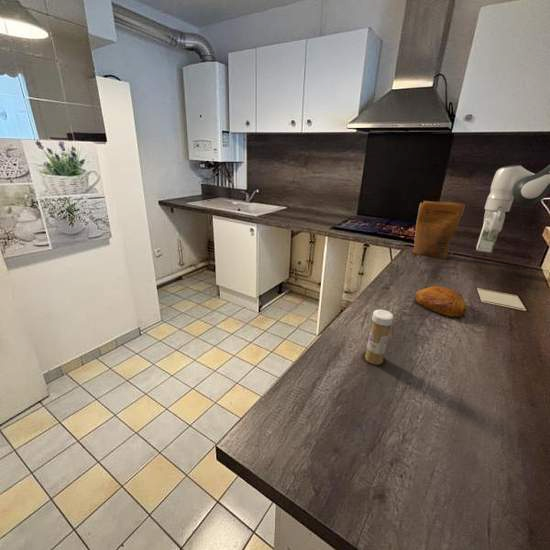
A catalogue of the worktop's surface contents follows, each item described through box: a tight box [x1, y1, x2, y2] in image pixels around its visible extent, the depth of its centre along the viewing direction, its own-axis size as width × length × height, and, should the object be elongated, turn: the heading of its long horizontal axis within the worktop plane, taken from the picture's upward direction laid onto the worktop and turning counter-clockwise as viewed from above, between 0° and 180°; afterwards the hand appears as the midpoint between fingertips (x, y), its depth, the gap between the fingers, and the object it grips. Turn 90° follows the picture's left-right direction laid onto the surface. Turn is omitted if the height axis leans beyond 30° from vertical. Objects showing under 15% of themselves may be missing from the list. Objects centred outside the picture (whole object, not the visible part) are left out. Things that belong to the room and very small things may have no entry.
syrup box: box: [475, 218, 500, 254], centre depth 128 cm, size 6×6×14 cm
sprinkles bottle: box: [364, 309, 394, 366], centre depth 71 cm, size 5×5×14 cm
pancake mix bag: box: [411, 200, 466, 260], centre depth 145 cm, size 7×19×28 cm, turn 59°
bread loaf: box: [415, 285, 467, 318], centre depth 99 cm, size 14×16×8 cm
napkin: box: [476, 287, 527, 312], centre depth 107 cm, size 13×13×1 cm
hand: (487, 237), depth 128 cm, fingers closed on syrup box, 6 cm apart
